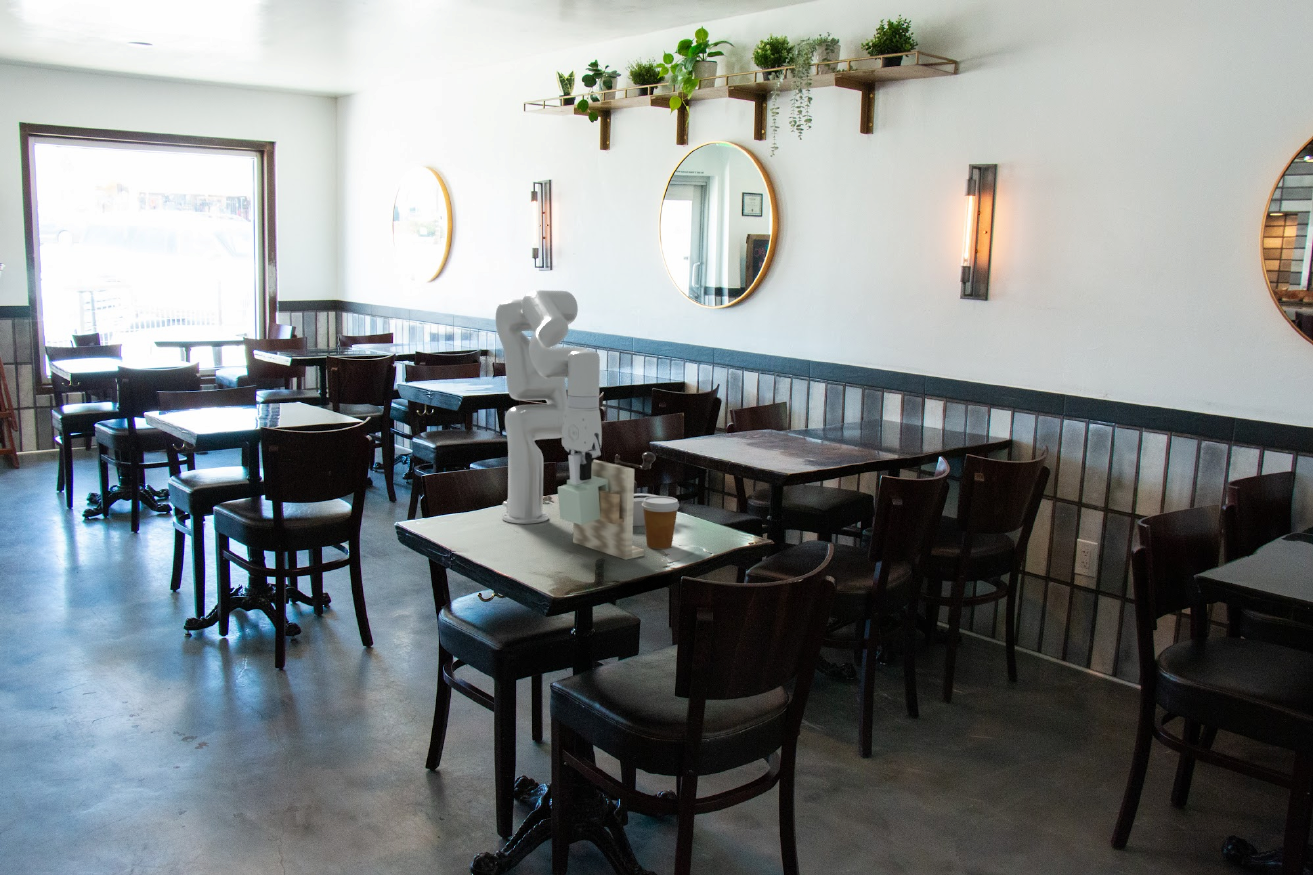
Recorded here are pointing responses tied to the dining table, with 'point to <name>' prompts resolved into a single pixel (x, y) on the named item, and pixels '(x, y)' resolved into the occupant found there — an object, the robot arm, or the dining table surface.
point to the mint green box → (580, 494)
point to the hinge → (639, 509)
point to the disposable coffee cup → (660, 520)
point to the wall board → (611, 514)
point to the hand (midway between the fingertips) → (581, 478)
